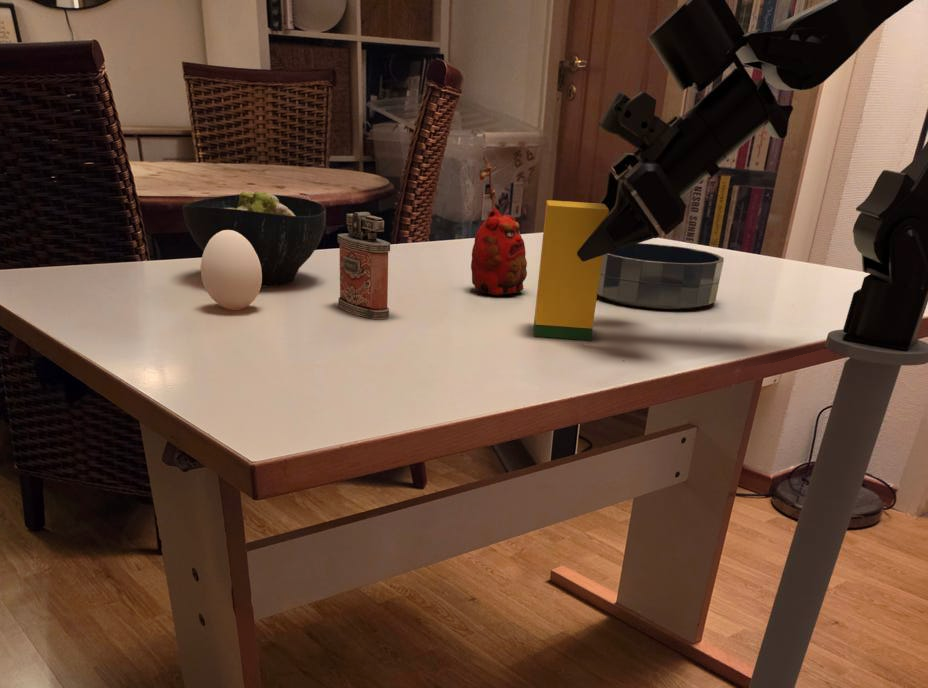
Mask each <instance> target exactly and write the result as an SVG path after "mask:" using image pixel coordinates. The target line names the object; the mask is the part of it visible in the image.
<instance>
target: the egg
mask: <svg viewBox="0 0 928 688" xmlns="http://www.w3.org/2000/svg"><path fill="white" fill-rule="evenodd" d="M200 276H201V281H202V285H203V288H204V290H205V292H206V293H207V294H208V295H209V297H210V298H211V299H212V300H213V302H215V303H216V304H217V305H218V306H220V307H222V308H223V309H226V310H231V311H238V310H242V309H245V308H246V307H248V306H250V305H251V304H252V303H253V302H254V301H255V300H256V298H257V296H258V295H259V293H260V290H261V288H262V286H261V284H262V271H261V265H260V261H259V258H258V256H257V254H256V252H255V250H254V248H253V247H252V245H251V244H250V242H249V241H248V240H247V239H246V238H245V237H244V236H242V235H241V234H239V233H238V232H236V231H233V230H223V231H221V232H219V233H217V234H215V235H214V236H213V237H212V238H211V239H210V240H209V242H208V244H207V246H206V247H205V250H204V252H203V253H202V256H201V260H200Z"/></svg>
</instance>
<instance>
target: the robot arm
mask: <svg viewBox="0 0 928 688" xmlns="http://www.w3.org/2000/svg"><path fill="white" fill-rule="evenodd" d="M913 1H915V0H822V1H821V2H819V3H818V2H817V4H814V5H812V6H810V7H809V8H807V9H804V10H803V11H801V12H799V13H797V14H795V15H793V16H791V17H789V18H787V19H784V20H783V21H781V22H780V23H779V24H777V26H776V27H774V28H773V29H772V30H771V31H763V30H762V29H761V28H757V29H753V30H750V31H748V32H747V33H746V32H745V30H744V29H743V28H742V26H741V24H740V23H739V21H738V19H737V17H736V16H735V14H734V13H733V10H732V9H731V7H730V6H729V4H728V3H727V0H686V1H685V2H684V3H683V4H680V5H678V6H677V7H676V8H674V9H673V10H672V11H671V12H670V13H669V14H668V15H667V16H666V17H665V18H664V19H662V21H661V22H660V23H659V24H658V25H656V26H655V28H654V29H653V30H652V31H651V32H650V33H649V34H648V35H647V37H646V39H647V40H648V41H649V43H650V45H651V47H652V48H653V49H654V51H655V53H656V54H657V56H658V57H659V59H660V61H661V62H662V63H663V65H664V67H665V68H666V71H668V73H669V74H670V76H671V79H672V80H673V81H674V83H675V84H676V86H677V88H678V89H679V91H680V92H683V91H685V90H686V89H688V88H692V87H693V90H694V91H695V92H696V94H698V93H700V92H702V91H703V90H705V89H706V88H708V86H710V85H711V84H712V83H714V82H715V81H716V80H717V79H718V78H719V77H720V76H721V75H723V74H724V72H726V70H727V69H729V70H730V71H731V72H730V73H729V74H728V75H726V76H725V77H724V78H723V79H722V80H721V81H720V82H719V83H717V85H716V86H714V87H713V88H712V89H711V90H709V92H707V94H706V95H704V96H703V97H702V98H701V99H700V100H699V101H698V102H696V104H694V105H693V106H692V107H691V108H690V109H689V110H688V111H687V112H685V113H684V114H683V115H681V116H680V115H678V116H676V115H674V116H672V118H670V119H669V120H668V121H666V122H665V121H664V120H662V119H661V118H660V117H659V116H657V115H655V113H656V108H657V107H656V105H657V99H656V98H654V97H653V96H651V95H650V94H648V93H647V92H645V91H640V92H638V93H637V94H636V95H634V96H633V97H632V98H630V97H628V95H626V94H625V93H622V92H620V91H616V92H615V93H614V95H613V97H612V99H611V100H610V102H609V104H608V105H607V108H606V109H605V112H604V114H603V115H602V117H601V119H600V121H599V122H598V124H597V125H598V127H599V128H601V129H603V130H604V131H606V132H607V133H609V134H612V135H616V136H618V137H619V138H620V139H622V140H624V141H625V142H627V143H628V144H629V145H631V146H633V147H634V148H636V149H635V150H634V151H633V152H632V153H631V152H624V153H623V154H622V155H620V156H619V158H617V159H616V160H615V161H614V162H613V163H612V164H611V165H610V167H611V169H612V170H613V172H614V173H615V175H614V173H612V171H611V170H608V171H607V174H606V186H605V192H604V195H603V197H602V199H601V200H600V201H599V202H598V204H605V205H606V206H607V208H608V209H609V213H608V215H607V216H606V217H605V218H604V219H603V221H602V222H601V223H600V224H599V225H598V227H597V228H596V229H595V230H594V232H593V233H592V234H591V235H590V236H589V238H588V239H587V240H586V241H585V242H584V244H583V245H582V246H581V247H580V249H579V250H578V251H577V255H578V257H579V258H580V259H581V261H583V262H584V261H587V260H590V259H593V258H596V257H599V256H602V255H605V254H607V253H610V252H613V251H616V250H619V249H622V248H625V247H628V246H631V245H634V244H637V243H643V242H646V241H649V240H652V239H658V238H659V237H661V235H660V233H659V232H658V230H657V229H656V228H657V227H658V228H659V229H660V230H661V232H662V233H663V234H664V235H665V236H668V235H669V234H670V233H671V232H672V231H673V230H674V229H676V228H677V227H678V226H679V225H680V224H682V223H683V222H684V219H685V213H686V209H687V204H686V203H685V202H684V200H683V197H684V196H686V194H688V193H689V192H690V191H691V190H692V189H693V188H695V187H696V186H697V185H698V184H699V183H700V182H702V181H703V180H704V179H705V178H706V177H709V178H712V177H713V176H715V175H716V174H717V173H719V171H721V168H720V167H719V166H720V165H721V164H723V163H724V162H725V161H726V160H727V159H728V158H729V157H731V156H732V155H734V153H735V152H737V150H739V149H740V148H741V147H742V146H743V145H745V144H746V143H747V142H748V141H749V140H751V138H753V137H754V136H755V135H756V134H758V133H759V132H760V131H761V130H762V129H763V128H764V127H765V129H766V130H767V132H768V134H769V136H770V137H771V138H775V139H780V140H784V139H785V138H787V136H788V131H789V130H788V128H789V122H790V117H791V115H792V113H793V111H794V106H793V105H791V104H782V105H781V104H780V103H779V102H778V99H777V98H776V96H775V95H774V93H773V91H772V89H771V87H773V88H775V89H777V90H781V91H807V90H812V89H814V88H816V87H818V86H819V85H821V84H823V83H825V82H826V81H827V80H828V79H829V78H830V77H831V76H833V74H834V73H835V72H836V71H838V69H840V67H842V66H843V65H844V64H845V63H846V62H847V61H848V60H849V59H850V58H851V57H853V56H854V54H855V53H857V51H858V50H859V49H860V47H861V46H862V45H863V44H864V43H865V42H866V41H867V40H868V38H869V37H870V36H871V35H872V34H873V33H874V32H876V30H877V29H878V28H879V27H880V26H881V25H882V24H883V23H884V22H886V21H887V20H888V19H889V18H891V17H892V16H894V15H896V13H898V12H899V11H901V10H902V9H904V8H905V7H906V6H908V5H909V4H911V3H913ZM745 66H746V67H749V68H753V69H756V70H759V71H761V72H762V75H763V77H764V78H762V77H761V78H760V79H757V80H756V81H754V80H753V78H752V77H751V76H750V74H749V73H748V71H747V70H746V68H745ZM768 84H769V85H770V86H771V87H770V86H769V85H768ZM855 211H856V212H859V214H858V216H857V218H856V220H855V222H854V223H853V227H852V235H853V244H854V246H855V248H856V250H857V252H858V253H860V254H861V264H862V265H861V267H862V272H863V273H865V274H867V275H866V276H864V277H863V280H862V283H861V288H859V289H857V290H856V291H854V292H853V293H852V298H851V301H850V304H849V308H848V312H847V315H846V318H845V321H844V325H843V328H842V330H843V331H844V333H847V334H845V335H844V336H843V339H842V340H843V341H847V342H853V343H858V344H864V345H870V346H875V347H881V348H887V349H892V350H898V351H905V352H907V351H909V350H910V349H911V348H912V347H913V346H914V345H915V344H916V343H917V341H918V340H919V337H917V336H918V333H919V330H920V327H921V324H922V321H923V318H924V314H925V311H926V309H927V306H928V140H927V141H926V143H925V144H924V145H923V147H922V149H921V150H920V152H919V153H918V155H916V157H915V158H914V159H913V160H912V161H911V162H910V163H909V164H908V165H907V166H906V167H904V168H903V169H902V170H901V171H893V170H888V169H883V170H882V171H881V173H880V174H879V176H878V177H877V179H876V181H875V183H874V185H873V187H872V189H871V191H870V192H869V194H868V195H867V197H866V198H865V200H864V201H863V202H861V203H860V204H859V205H858V206H857V207H855Z"/></svg>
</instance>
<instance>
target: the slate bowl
mask: <svg viewBox="0 0 928 688" xmlns="http://www.w3.org/2000/svg"><path fill="white" fill-rule="evenodd" d="M724 261H725V257H723V256H722V255H719V254H717V253H713V252H710V251H706V250H701V249H696V248H690V247H685V246H684V247H683V246H677V245H668V244H660V243H659V244H657V243H643V242H640V243H637V244H634V245H631V246H628V247H625V248H622V249H619V250H616V251H613V252H610V253H607V254H605V255H603V256H602V263H601V271H600V278H599V285H598V292H597V296H599V297H600V298H602V299H603V300H606V301H609V302H612V303H615V304H620V305H623V306H629V307H634V308H641V309H642V308H643V309H650V310H651V309H652V310H663V311H666V310H667V311H668V310H669V311H687V310H695V309H699V308H703V307H704V306H708V305H711V304H713V303H716V299H717V295H718V290H719V285H720V281H721V276H722V271H723V266H724Z"/></svg>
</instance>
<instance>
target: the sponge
mask: <svg viewBox="0 0 928 688" xmlns="http://www.w3.org/2000/svg"><path fill="white" fill-rule="evenodd" d="M608 213H609V209H608V208H607V206H606V205H605V204H599V203H598V202H597V203H595V202H581V201H566V200H552V199H551V200H550V199H546V203H545V213H544V222H543V233H542V241H541V249H540V250H541V252H540V259H539V270H538V280H537V289H536V300H535V309H534V319H533V337H536V338H537V337H538V338H549V339H552V338H554V339H564V340H565V339H566V340H576V341H577V340H578V341H592V335H593V328H594V320H595V313H596V306H597V299H598V294H597V292H598V285H599V278H600V271H601V263H602V256H603V255H602V256H599V257H596V258H593V259H590V260H587V261H584V262H583V261H581V259H580V258H579V257H578V255H577V251H578V250H579V249H580V247H581V246H582V245H583V244H584V242H585V241H586V240H587V239H588V238H589V236H590V235H591V234H592V233H593V232H594V230H595V229H596V228H597V227H598V225H599V224H600V223H601V222H602V221H603V219H604V218H605V217H606V216H607V215H608Z"/></svg>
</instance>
